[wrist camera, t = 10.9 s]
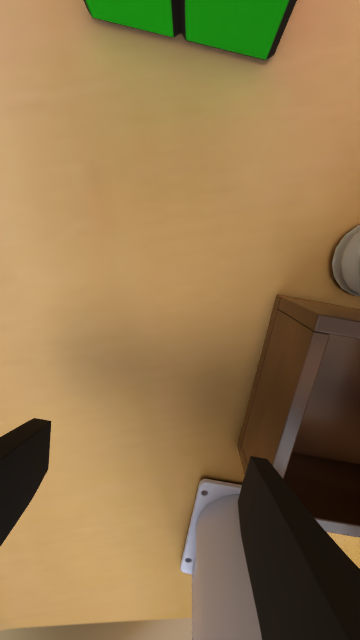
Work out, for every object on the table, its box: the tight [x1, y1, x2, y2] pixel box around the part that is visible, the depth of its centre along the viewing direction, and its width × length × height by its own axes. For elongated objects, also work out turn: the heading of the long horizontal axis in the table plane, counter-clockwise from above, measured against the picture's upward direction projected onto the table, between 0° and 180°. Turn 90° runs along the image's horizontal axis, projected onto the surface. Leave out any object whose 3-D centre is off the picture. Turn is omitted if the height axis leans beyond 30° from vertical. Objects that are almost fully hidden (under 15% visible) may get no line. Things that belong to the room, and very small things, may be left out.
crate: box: [237, 295, 360, 537], centre depth 16 cm, size 12×10×6 cm
